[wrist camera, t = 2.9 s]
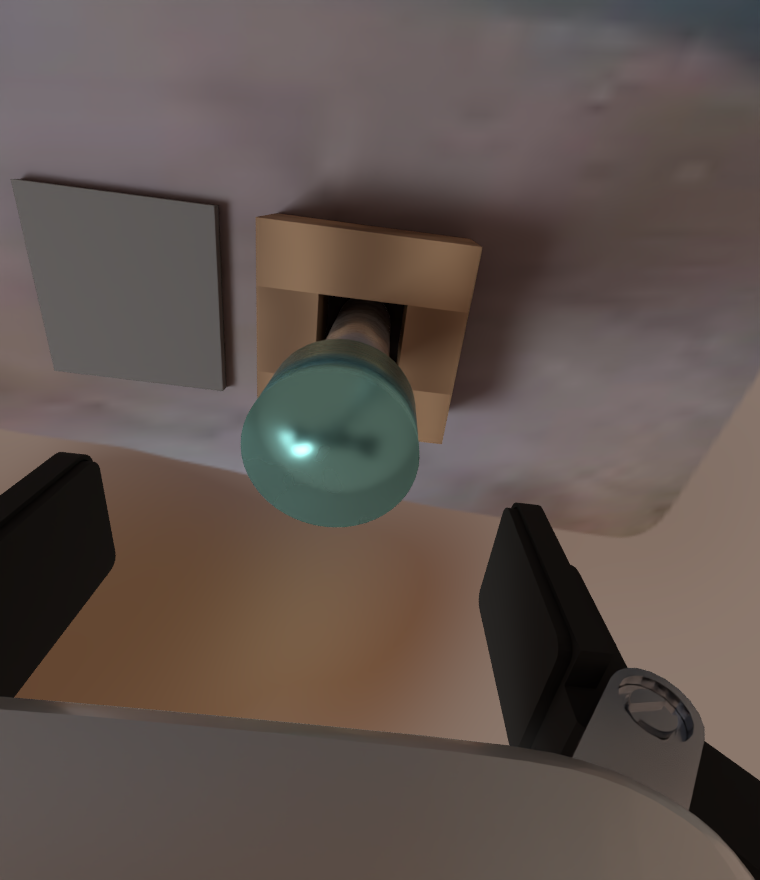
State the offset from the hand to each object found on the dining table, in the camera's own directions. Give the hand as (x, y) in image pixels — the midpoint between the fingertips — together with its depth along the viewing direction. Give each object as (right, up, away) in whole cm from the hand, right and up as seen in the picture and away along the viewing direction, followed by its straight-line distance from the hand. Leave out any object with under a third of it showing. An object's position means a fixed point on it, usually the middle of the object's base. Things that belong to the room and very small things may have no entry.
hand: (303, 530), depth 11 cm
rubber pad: (-12, +10, +15) cm, 22 cm away
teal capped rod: (+1, +9, +15) cm, 18 cm away
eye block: (+1, +9, +15) cm, 18 cm away
